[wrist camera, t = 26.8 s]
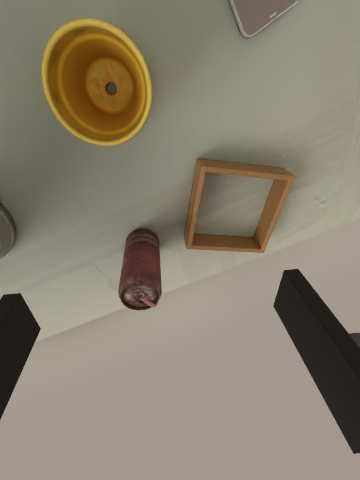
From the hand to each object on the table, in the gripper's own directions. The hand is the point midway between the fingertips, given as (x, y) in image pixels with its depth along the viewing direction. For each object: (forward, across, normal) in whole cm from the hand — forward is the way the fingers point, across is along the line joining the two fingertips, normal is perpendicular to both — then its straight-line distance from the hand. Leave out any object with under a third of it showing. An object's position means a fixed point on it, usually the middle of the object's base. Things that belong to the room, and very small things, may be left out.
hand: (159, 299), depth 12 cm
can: (+29, -3, -16) cm, 33 cm away
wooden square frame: (+29, +13, -9) cm, 33 cm away
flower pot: (+29, -5, +9) cm, 31 cm away
